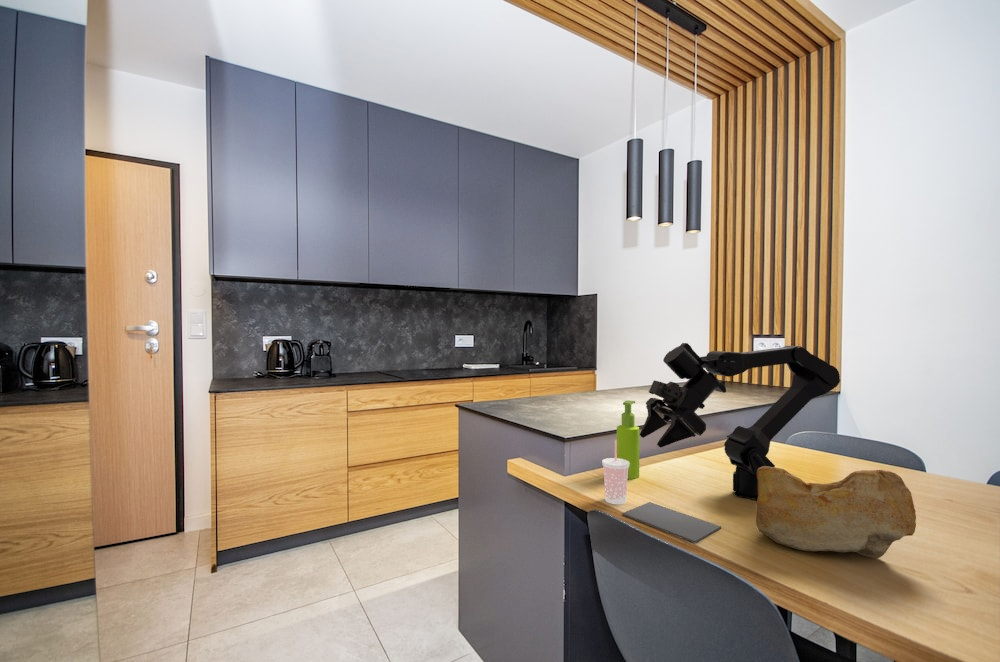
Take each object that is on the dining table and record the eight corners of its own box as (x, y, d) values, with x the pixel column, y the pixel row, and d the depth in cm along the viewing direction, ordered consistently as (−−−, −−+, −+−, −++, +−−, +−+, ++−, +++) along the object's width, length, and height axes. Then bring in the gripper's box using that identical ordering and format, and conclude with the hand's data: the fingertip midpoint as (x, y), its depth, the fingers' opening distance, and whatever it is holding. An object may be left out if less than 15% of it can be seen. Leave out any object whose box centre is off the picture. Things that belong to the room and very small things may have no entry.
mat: (721, 528, 87) (721, 526, 87) (695, 543, 81) (695, 541, 81) (649, 503, 100) (649, 501, 100) (622, 514, 94) (622, 513, 94)
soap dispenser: (642, 473, 122) (642, 400, 122) (635, 480, 116) (635, 404, 116) (621, 469, 125) (621, 398, 125) (613, 476, 119) (613, 402, 119)
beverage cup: (616, 494, 106) (616, 435, 106) (635, 502, 101) (635, 441, 101) (596, 498, 103) (596, 438, 103) (614, 507, 98) (614, 444, 98)
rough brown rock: (890, 540, 85) (884, 460, 86) (928, 575, 70) (921, 478, 71) (750, 521, 94) (747, 450, 96) (758, 549, 80) (754, 464, 81)
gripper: (653, 365, 113) (611, 410, 112) (692, 372, 94) (643, 425, 93) (682, 396, 114) (641, 440, 112) (727, 408, 95) (678, 461, 94)
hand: (649, 441), depth 103 cm, fingers open, 9 cm apart
